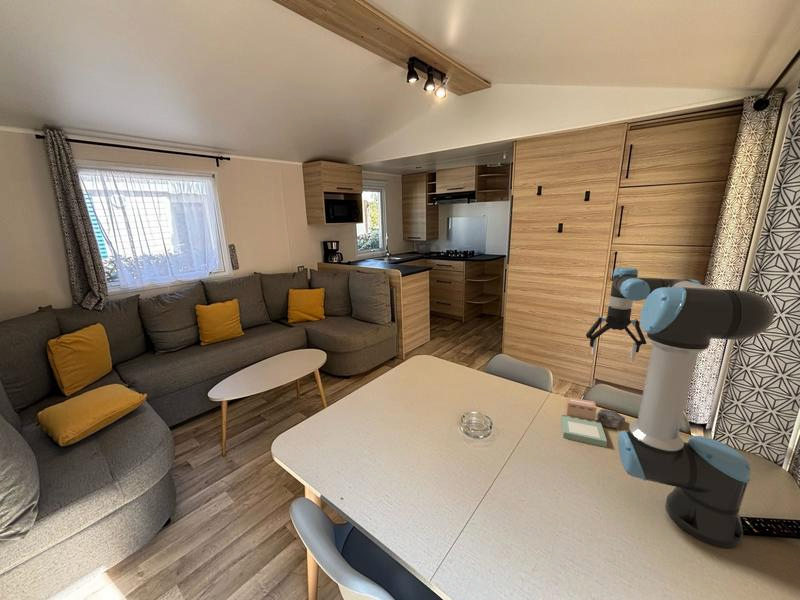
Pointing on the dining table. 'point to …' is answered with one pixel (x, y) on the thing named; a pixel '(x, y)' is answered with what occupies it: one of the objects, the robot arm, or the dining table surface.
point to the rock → (610, 418)
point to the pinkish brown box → (580, 408)
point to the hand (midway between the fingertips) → (612, 356)
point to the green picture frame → (583, 430)
